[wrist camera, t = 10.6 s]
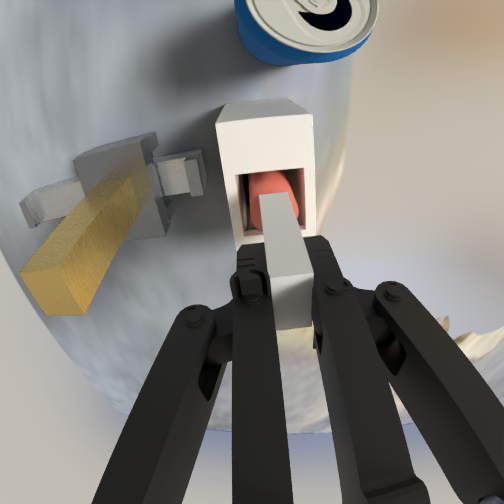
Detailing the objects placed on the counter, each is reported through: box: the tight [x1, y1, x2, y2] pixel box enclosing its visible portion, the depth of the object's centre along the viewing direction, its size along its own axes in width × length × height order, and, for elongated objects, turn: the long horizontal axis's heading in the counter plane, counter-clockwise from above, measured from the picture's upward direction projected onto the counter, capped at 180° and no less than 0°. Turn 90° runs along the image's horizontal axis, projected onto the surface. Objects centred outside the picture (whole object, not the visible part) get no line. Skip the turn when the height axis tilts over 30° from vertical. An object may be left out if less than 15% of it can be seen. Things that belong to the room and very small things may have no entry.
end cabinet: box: [215, 98, 316, 251], centre depth 20 cm, size 10×5×9 cm, turn 7°
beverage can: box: [234, 0, 379, 66], centre depth 13 cm, size 6×6×12 cm
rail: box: [19, 149, 207, 229], centre depth 23 cm, size 3×19×3 cm, turn 97°
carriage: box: [19, 132, 174, 315], centre depth 18 cm, size 8×6×15 cm
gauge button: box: [248, 170, 299, 232], centre depth 19 cm, size 3×3×8 cm
